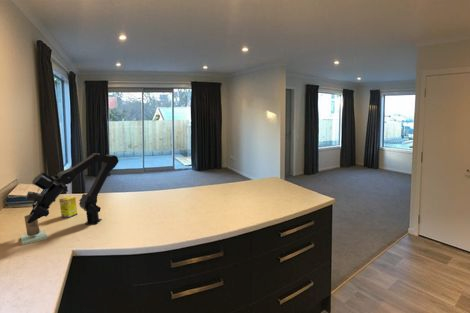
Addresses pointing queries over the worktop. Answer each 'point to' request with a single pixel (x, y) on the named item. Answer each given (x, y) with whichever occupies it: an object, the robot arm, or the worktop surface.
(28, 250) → the worktop surface
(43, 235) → the sage green board
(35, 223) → the walnut canister
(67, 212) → the supplement box
